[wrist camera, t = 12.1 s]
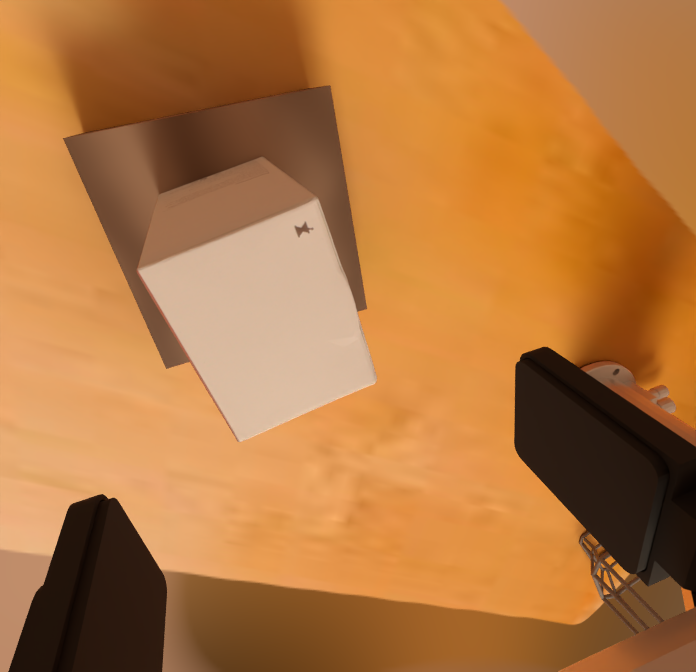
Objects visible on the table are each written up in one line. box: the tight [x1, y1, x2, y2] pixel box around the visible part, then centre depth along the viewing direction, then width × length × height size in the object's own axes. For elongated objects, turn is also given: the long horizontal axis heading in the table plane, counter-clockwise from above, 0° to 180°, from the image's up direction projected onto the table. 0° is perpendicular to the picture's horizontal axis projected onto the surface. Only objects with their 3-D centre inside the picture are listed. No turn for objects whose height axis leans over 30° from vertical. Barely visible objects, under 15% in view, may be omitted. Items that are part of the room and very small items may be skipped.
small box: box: [137, 157, 377, 442], centre depth 22 cm, size 8×6×13 cm
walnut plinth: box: [63, 86, 367, 369], centre depth 29 cm, size 14×14×5 cm
